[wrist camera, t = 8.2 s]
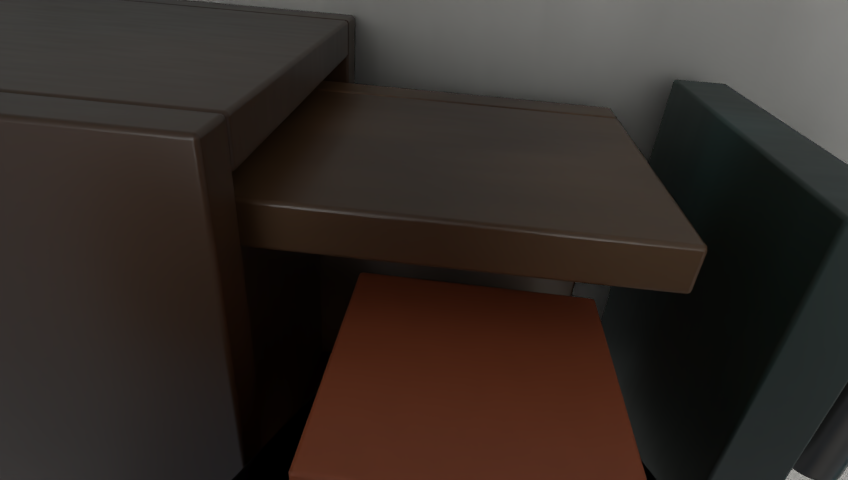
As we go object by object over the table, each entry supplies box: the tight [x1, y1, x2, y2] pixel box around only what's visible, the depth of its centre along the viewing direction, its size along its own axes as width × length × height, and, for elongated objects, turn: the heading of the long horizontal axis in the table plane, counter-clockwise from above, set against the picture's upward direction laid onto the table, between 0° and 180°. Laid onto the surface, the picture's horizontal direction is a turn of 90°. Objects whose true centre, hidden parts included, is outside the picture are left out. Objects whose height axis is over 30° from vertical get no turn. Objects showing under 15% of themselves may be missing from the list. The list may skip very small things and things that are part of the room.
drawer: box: [232, 80, 848, 480], centre depth 12 cm, size 14×10×7 cm
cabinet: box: [0, 0, 355, 480], centre depth 12 cm, size 11×11×9 cm
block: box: [288, 272, 647, 480], centre depth 9 cm, size 4×4×4 cm
